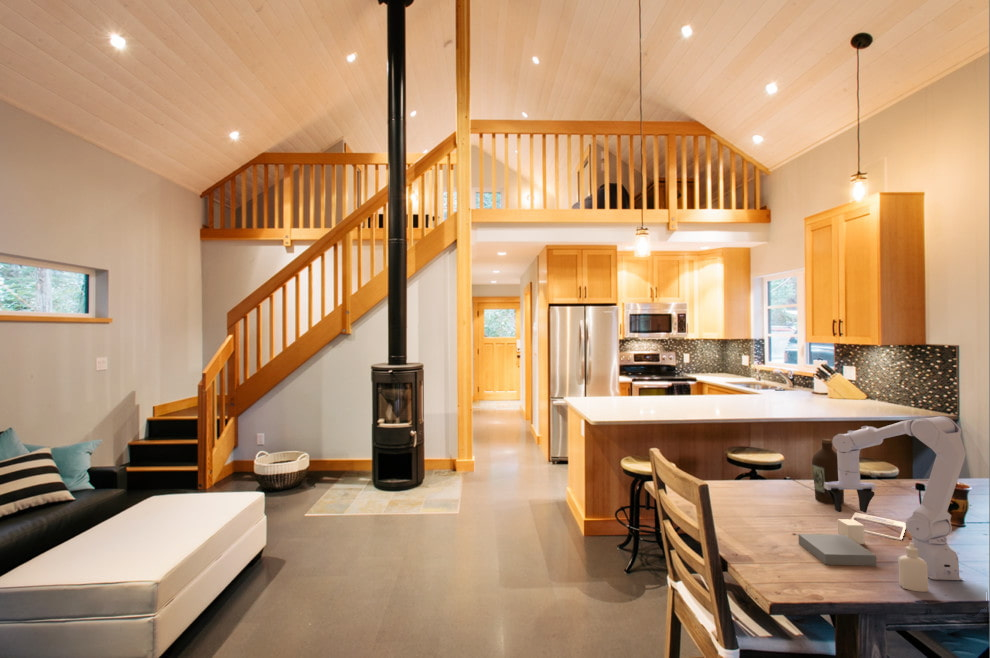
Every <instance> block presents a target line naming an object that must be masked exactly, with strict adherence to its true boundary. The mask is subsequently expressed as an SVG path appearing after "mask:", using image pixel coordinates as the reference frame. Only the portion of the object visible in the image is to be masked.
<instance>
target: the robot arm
mask: <svg viewBox="0 0 990 658" xmlns="http://www.w3.org/2000/svg"><path fill="white" fill-rule="evenodd" d="M961 434H962V428H961V427H959V426H958V424H957V423H956V422H955V421H954V420H953V419H951V418H950V417H947V416H944V415H939V416H938V415H937V416H934V417H925V418H924V417H923V418H922V417H921V418H917V419H908V420H902V421H899V422H896V423H893V424H889V425H886V426H883V427H879V428H877V427H875V426H868V425H863V426H861V427H860V429H857V430H847V433H837V434H836V435H835V436H833V437H832V439H831V440H832V442H831V443H832V447H834V448H835V449H836V453H837V459H838V480H839V481H835V482H824V488H825V489H826V490H827V492H828V493H829V495H830V497H831V499H832V501H833V504H834V505H833V507H834V510H835V511H836V512H838V513H842V510H843V509H842V508H843V506H842V505H843V504H841V502H842V496H843V493H841V492H840V491H839V489H844V490H852V491H853V490H856V492H857V495H858V496H857V497H858V505H859V511H861V513H863V514H867V512H868V508H869V504H870V503H871V500H872V499H873V498H874V497H875V492H874V491H876V484H874V483H873V482H865V481H864V482H862V481H861V471H860V454H861V453H860V452H861V450H862V449H863V450H864V449H866V448H870V447H874V446H879V445H882V443H883V442H884V440H885V439H888V438H892V437H896V436H898V437H899V436H901V435H908V436H910V437H915V438H916V439H918V440H919V441H920V442H922V443H923V445H926V447H928V448H930V449H931V450H932V451H933V453H935V455H936V456H935V459H934V462H933V465H932V469H931V472H930V475H929V479H928V481H927V485H926V487H925V491H924V494H923V497H922V500H921V503H920V504H919V506H917V508H916V509H915V510H913V512H912V515H911V516H910V517H908V518H907V519H906V520H905V523H906V530H907V531H908V534H910V535H911V538H912V539H911V540H912V542H911V543H913V544H914V547H915V548H917V549H918V557H919V558H921V559H923V560H924V561H925V562H926V563H927V572H928V579H930V580H939V581H940V580H941V581H942V580H943V581H944V580H946V581H961V580H960V579H963V580H964V578H963V577H961V576H960V565H959V563H960V562H959V556H958V554H957V553H956V551H954V550H953V549H952V548H951V547H950V546H949V544H948V541H947V540H948V539H947V538H948V536H949V535H950V534H951V533H952V530H953V528H952V523H951V518H952V514H950V513H949V511H948V510H949V506H950V504H951V501H952V499H953V495H954V492H955V489H956V486H957V483H958V480H959V477H960V475H961V470H962V468H963V465H964V462H965V459H966V455H967V453H966V450H965V447H964V443H963V441H962V437H961Z"/></svg>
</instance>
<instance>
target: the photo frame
mask: <svg viewBox="0 0 990 658" xmlns="http://www.w3.org/2000/svg"><path fill="white" fill-rule="evenodd" d="M850 519H854V520H855V519H858V520H862V521H866V522H871V523H872V522H873V523H876V524H880V525H886V526H890V527H895V528H899V527H900V529H902V530H901V533H900V536H899V537H896V536H893V535H887V534H883V533H879V532H874V531H870V530H867V529H866V530H865V529H864V531H865V533H866V534H871V535H875V536H880V537H882V538H883V537H884V538H888V539H894V540H896V541H900V540H901V541H903V540H904V537H903V536H905V534H906V531H905V530H907V528H906V521H905V522H904V521H899V520H894V519H890V518H885V517H880V516H875V515H870V514H867V513H862V512H861V513H859V512H854V514H853V515H852V517H851V518H850ZM904 533H905V534H904ZM902 539H903V540H902ZM901 541H900V542H901Z"/></svg>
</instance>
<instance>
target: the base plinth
mask: <svg viewBox="0 0 990 658" xmlns="http://www.w3.org/2000/svg"><path fill="white" fill-rule="evenodd" d="M798 544H799V545H801V546H802V547H803V548H804V549H805V550H807V551H808V552H809V553H810V554H812V555H813V556H814V557H816V558H817V559H818V560H819V561H821V563H823V564H824V565H827V566H829V565H836V566H837V565H838V566H874V567H876V566H877V554H874V553H873V552H871V551H870V550H868V549H867V548H866V547H864V546H862V544H858V543H856V542H855V541H853V540H851V539H850V538H848V537H847V536H845V535H838V534H825V533H823V534H817V533H816V534H815V533H814V534H813V533H798Z"/></svg>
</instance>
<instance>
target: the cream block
mask: <svg viewBox="0 0 990 658" xmlns="http://www.w3.org/2000/svg"><path fill="white" fill-rule="evenodd" d="M864 530H865V525H864V524H862V523H861V522H859V521H857V520H855V519H851V518H850V519H849V518H848V519H847V518H846V519H845V518H843V519H841V518H837V531H838V533H837V535H845V536H847V537H848V538H850V539H851V540H853V541H855V542H856V543H858V544H859V545H866V537H865V536H866V535H865V531H864Z"/></svg>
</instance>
